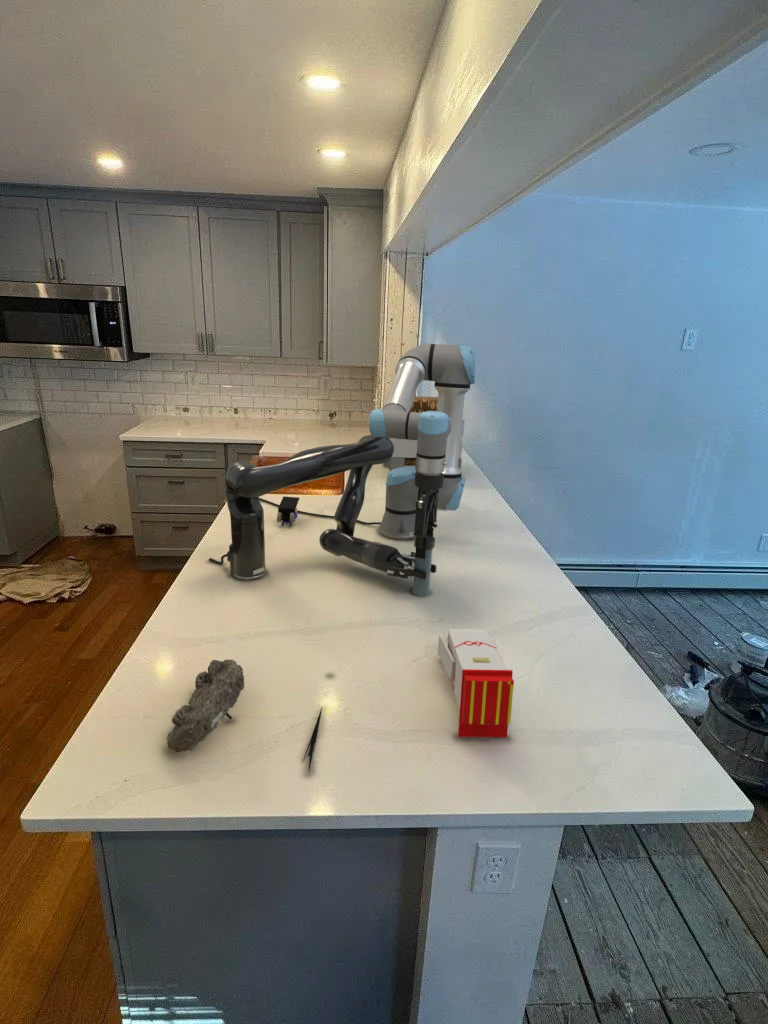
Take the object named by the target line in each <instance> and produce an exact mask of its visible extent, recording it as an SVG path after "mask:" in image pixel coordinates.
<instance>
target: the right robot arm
mask: <svg viewBox="0 0 768 1024" xmlns="http://www.w3.org/2000/svg"><path fill="white" fill-rule="evenodd" d="M394 374H395V376H394V379H393V382H392V384H391V387H390V389H389V390H388V391H389V392H388V394H387V397H386V399H385V401H384V404H383V407H382V409H381V408H377V409H376V408H375V409H372V410H371V412H370V415H369V420H368V430H369V433H370V435H372V436H376V437H383V438H396V439H408V440H417V454H416V465H415V466H404V467H400V468H396V469H393V470H391V471H390V470H389V472H388V473H387V475H386V482H385V504H384V505H385V507H384V508H385V509H384V513H383V515H382V519H381V522H380V521H379V522H378V521H377V522H376V521H374V522H373V521H371V522H367V521H362V520H358V519H357V521H356V523H359V524H361V525H367V526H373V525H378V533H379V534H380V535H381V536H382V537H385V538H387V539H389V540H395V541H410V540H414V539H415V536H416V547H415V548H416V551H415V550H414V552H415V557H416V558H421V559H425V558H426V544H427V536H426V535H431V536H433V537H434V529H435V528H438V524H437V519H438V518H437V516H438V510H443V511H456V510H458V509H459V508H460V504H461V501H462V498H463V497H462V496H463V493H464V487H465V483H466V477H465V476H462V475H463V474H462V473H463V472H462V469H461V470H460V469H459V467H458V460H459V450H460V439H461V440H462V438H461V428H462V419H464V408H465V407H464V406H465V405H464V404H465V396H466V394H467V393H468V392H469V391H470V390H471V385H474V384H475V383H476V356H475V350H474V348H473V347H471V346H468V345H461V344H443V343H442V344H441V343H439V344H438V343H423V344H419V345H417V346H413V347H412V348H411V349H409V350H408V351H406V352H405V353H404V354H403V355H402V356H401V357H400V358H399V359H398V361H397V363H396V366H395V369H394ZM423 381H428V382H434V386H433V387H434V389H435V391H437V393H438V394H437V397H438V404H437V411H426V412H422V413H417V412H409V411H410V408H411V405H412V402H413V399H414V396H415V397H416V393H417V391H418V387H419V385H420V384H421V383H422V382H423ZM259 500H260V502H261V501H262V502H264V503H267V504H269V505H272V506H275V507H277V508H278V507H279V505H280V504H277V503H275V502H272V501H269V500H267V499H264V498H261V497H259ZM297 514H303V515H307V516H313V517H321V518H329V519H334V515H327V514H321V513H314V512H307V511H303V510H298V509H297Z"/></svg>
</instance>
